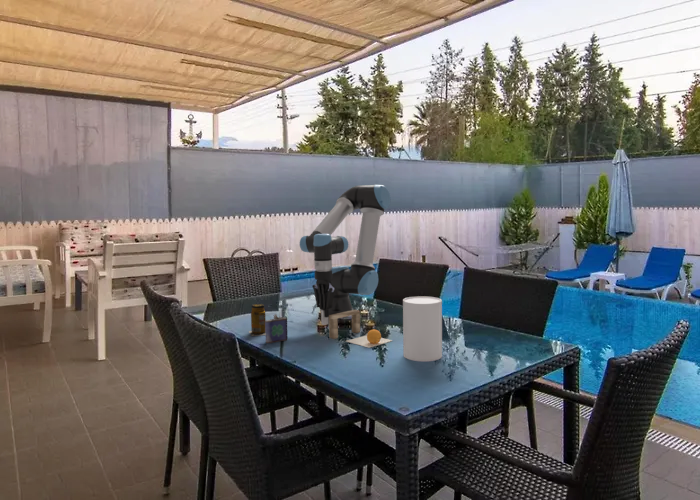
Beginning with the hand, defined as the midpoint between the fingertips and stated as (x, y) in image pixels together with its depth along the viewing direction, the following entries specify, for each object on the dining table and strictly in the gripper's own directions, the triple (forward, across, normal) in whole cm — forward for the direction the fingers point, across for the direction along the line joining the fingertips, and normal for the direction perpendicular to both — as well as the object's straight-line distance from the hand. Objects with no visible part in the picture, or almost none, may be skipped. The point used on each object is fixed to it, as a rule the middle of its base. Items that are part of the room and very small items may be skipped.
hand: (324, 324), depth 225 cm
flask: (+2, 0, -25) cm, 25 cm away
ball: (-1, +31, -1) cm, 31 cm away
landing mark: (+2, +27, 0) cm, 27 cm away
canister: (+2, +54, 0) cm, 54 cm away
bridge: (+2, +13, 0) cm, 13 cm away
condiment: (+2, -16, -23) cm, 28 cm away
